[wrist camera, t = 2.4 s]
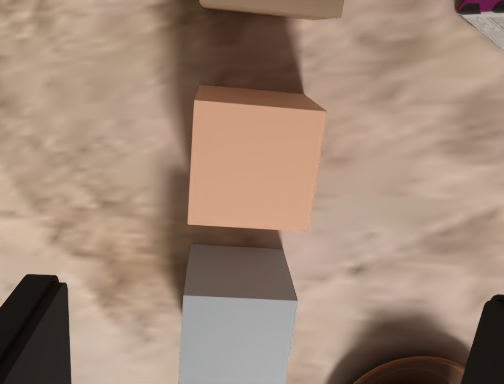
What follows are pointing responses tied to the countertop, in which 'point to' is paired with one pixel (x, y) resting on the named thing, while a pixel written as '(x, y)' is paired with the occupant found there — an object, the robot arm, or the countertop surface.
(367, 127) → the countertop surface
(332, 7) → the walnut block
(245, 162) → the terracotta block
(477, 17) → the candy bar box
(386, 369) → the cup and saucer
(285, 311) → the slate grey block
